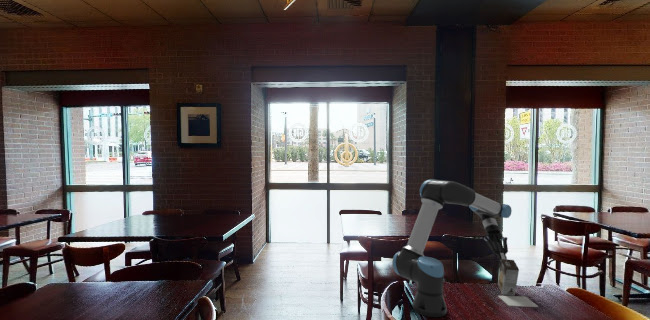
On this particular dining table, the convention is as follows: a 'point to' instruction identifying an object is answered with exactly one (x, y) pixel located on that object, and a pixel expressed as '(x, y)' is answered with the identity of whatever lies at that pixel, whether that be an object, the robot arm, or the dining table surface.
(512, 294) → the coffee box
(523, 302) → the mat
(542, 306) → the dining table surface
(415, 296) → the robot arm
